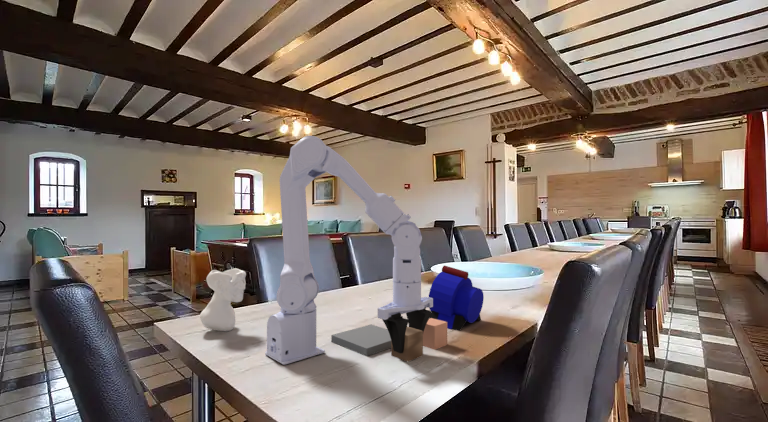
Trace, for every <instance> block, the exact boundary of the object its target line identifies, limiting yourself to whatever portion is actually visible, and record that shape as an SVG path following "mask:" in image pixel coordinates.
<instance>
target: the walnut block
mask: <svg viewBox="0 0 768 422" xmlns="http://www.w3.org/2000/svg"><path fill="white" fill-rule="evenodd" d="M390 349H391V354H390V355H391V357H394V358H396V359H400V360H402V361H405V362H408V363H409V362H411V361H413V360H416V359H418V358H420V357H423V356H424V346H423V331H422V330H418V329H415V328H411V327H409V325H407V328H406V332H405V344H404V351H403V353H398V352H395V351H394V350H393V345H392V341H391V348H390Z"/></svg>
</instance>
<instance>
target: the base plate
mask: <svg viewBox="0 0 768 422" xmlns="http://www.w3.org/2000/svg"><path fill="white" fill-rule="evenodd" d="M330 336H331V341H330V342H331V343H333V344H336V345H338V346H341V347H344V348H346V349H349V350H350V351H353V352H356V353H358V354H361V355H363V356H365V357H368V356H371V355H374V354H376V353H379V352H383V351H385V350H388V349H391V338H390V334H389V332H388V329H387V328H384V327H381V326H377V325H375V324H367V325H364V326H360V327H355V328H352V329H348V330H345V331H341V332H338V333H334V334H331V335H330Z"/></svg>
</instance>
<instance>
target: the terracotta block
mask: <svg viewBox="0 0 768 422" xmlns="http://www.w3.org/2000/svg"><path fill="white" fill-rule="evenodd" d="M445 346H448V328H447V322H445V321H441V320H437V319H433V318H430V319H429V320H428V322H427V324H426V326H425V329H424V332H423V347H426V348H428V349H431V350H434V351H435V350H438V349H440V348H443V347H445Z"/></svg>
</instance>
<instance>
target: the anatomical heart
mask: <svg viewBox="0 0 768 422" xmlns="http://www.w3.org/2000/svg"><path fill="white" fill-rule="evenodd" d="M246 276H247V272H246V271H245V270H241V269H239V268H236V267H235V268H230V269H228V270H224V271H220V270H217V269H212V270H211V271H210V272H209V273H208V274H207V276H206V279H205V280H206V283H207V284H206V285H207V286H208V287H209V288H210V289H211V290H213V291H214V292H213V295H212V297H211V299H210V301H209V302H208V303H207V305H206V307H205V308H203V310H202V311H201V312H200V314H199V319H200V322H201V324H202V325H203V327H204V328H206V329H208V330H214V331H220V332H230V331H232V330H233V329H234V328H235V325H236V312H235V309H234V308H233V306H232V305H231V303H232V302H233V303H240V302H242V301H243V299H244V292H245V290H246V285H247V284H246Z"/></svg>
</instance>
